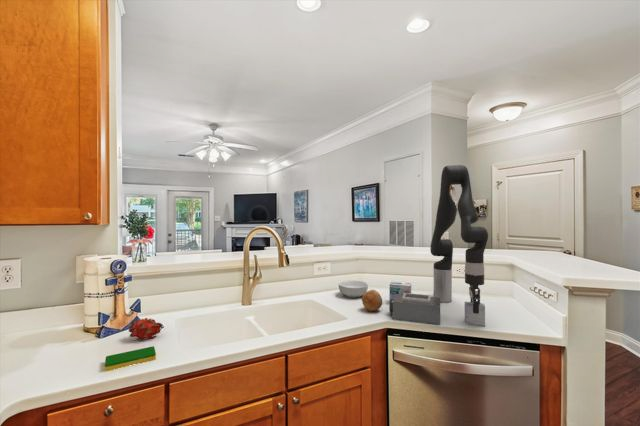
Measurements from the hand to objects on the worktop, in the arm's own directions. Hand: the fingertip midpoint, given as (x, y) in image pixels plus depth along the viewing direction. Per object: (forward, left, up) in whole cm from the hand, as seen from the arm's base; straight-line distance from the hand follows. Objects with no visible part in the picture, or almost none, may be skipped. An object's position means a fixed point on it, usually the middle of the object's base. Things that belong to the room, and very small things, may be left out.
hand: (474, 310), depth 132 cm
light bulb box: (-18, -33, -6) cm, 38 cm away
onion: (-2, -45, -6) cm, 45 cm away
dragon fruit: (+60, -121, -6) cm, 135 cm away
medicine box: (0, 0, -6) cm, 6 cm away
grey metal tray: (0, -24, -6) cm, 25 cm away
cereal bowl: (-24, -60, -6) cm, 65 cm away
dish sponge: (+75, -110, -7) cm, 133 cm away
